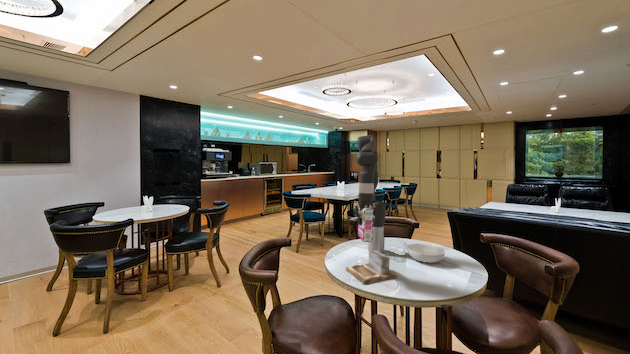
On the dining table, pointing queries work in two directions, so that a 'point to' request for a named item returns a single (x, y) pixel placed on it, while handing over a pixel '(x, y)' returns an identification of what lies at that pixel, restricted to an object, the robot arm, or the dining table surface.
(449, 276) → the dining table surface
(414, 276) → the dining table surface
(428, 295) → the dining table surface
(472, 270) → the dining table surface
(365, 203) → the robot arm
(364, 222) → the candy bar box
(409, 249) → the serving bowl
